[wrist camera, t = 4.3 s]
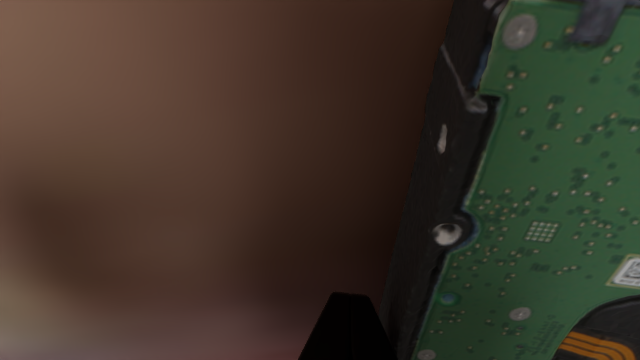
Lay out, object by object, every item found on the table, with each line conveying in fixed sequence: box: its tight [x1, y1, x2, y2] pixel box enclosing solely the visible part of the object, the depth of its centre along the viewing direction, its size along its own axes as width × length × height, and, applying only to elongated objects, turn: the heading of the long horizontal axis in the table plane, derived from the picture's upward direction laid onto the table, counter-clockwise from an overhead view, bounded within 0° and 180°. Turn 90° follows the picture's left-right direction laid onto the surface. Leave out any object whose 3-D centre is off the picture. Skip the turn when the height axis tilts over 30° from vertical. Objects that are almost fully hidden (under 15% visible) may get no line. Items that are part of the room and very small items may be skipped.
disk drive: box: [378, 0, 640, 360], centre depth 9 cm, size 10×3×15 cm
